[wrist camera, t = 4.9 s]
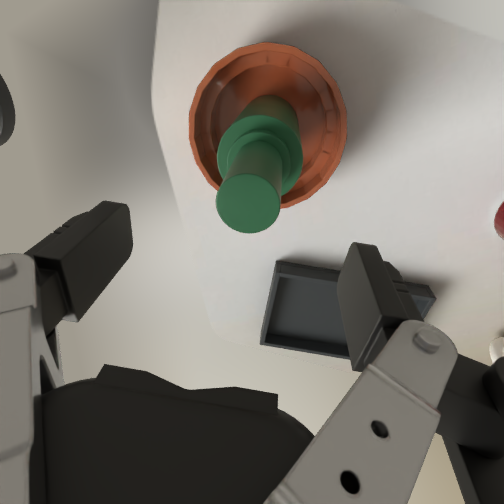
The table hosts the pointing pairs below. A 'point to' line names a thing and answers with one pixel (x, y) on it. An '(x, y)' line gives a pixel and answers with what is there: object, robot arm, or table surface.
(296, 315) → the tray
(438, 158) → the table surface
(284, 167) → the bottle
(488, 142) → the table surface
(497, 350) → the cat figurine
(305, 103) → the bowl
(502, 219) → the soda can
